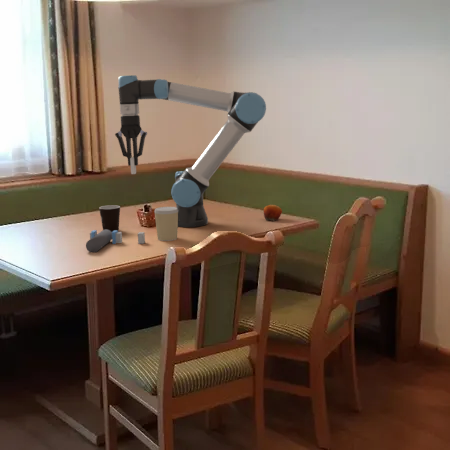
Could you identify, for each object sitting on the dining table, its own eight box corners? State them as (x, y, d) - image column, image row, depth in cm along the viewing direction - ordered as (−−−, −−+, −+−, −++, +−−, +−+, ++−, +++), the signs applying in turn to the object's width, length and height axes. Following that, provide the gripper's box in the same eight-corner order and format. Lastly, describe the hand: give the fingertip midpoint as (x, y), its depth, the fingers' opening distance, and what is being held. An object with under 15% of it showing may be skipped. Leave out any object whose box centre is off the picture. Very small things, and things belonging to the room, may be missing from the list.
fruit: (259, 218, 289) (262, 201, 291) (264, 225, 296) (267, 208, 298) (277, 219, 286) (280, 202, 288) (282, 226, 293) (284, 209, 295)
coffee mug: (117, 233, 274) (115, 209, 272) (97, 232, 276) (95, 208, 273) (126, 227, 285) (125, 204, 283) (107, 226, 287) (106, 203, 285)
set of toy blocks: (144, 242, 257) (144, 230, 256) (142, 244, 254) (142, 232, 253) (92, 241, 260) (91, 230, 259) (89, 243, 257) (89, 231, 256)
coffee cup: (182, 236, 266) (181, 206, 263) (175, 241, 257) (174, 211, 254) (159, 235, 268) (158, 206, 265) (152, 241, 259) (151, 210, 256)
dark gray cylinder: (114, 240, 260) (110, 228, 259) (100, 251, 243) (96, 238, 242) (102, 243, 260) (98, 231, 260) (88, 254, 244) (84, 241, 243)
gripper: (111, 116, 263) (115, 175, 268) (143, 115, 262) (147, 174, 267) (116, 115, 271) (120, 172, 276) (148, 114, 269) (151, 172, 274)
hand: (133, 173), depth 271 cm, fingers closed
